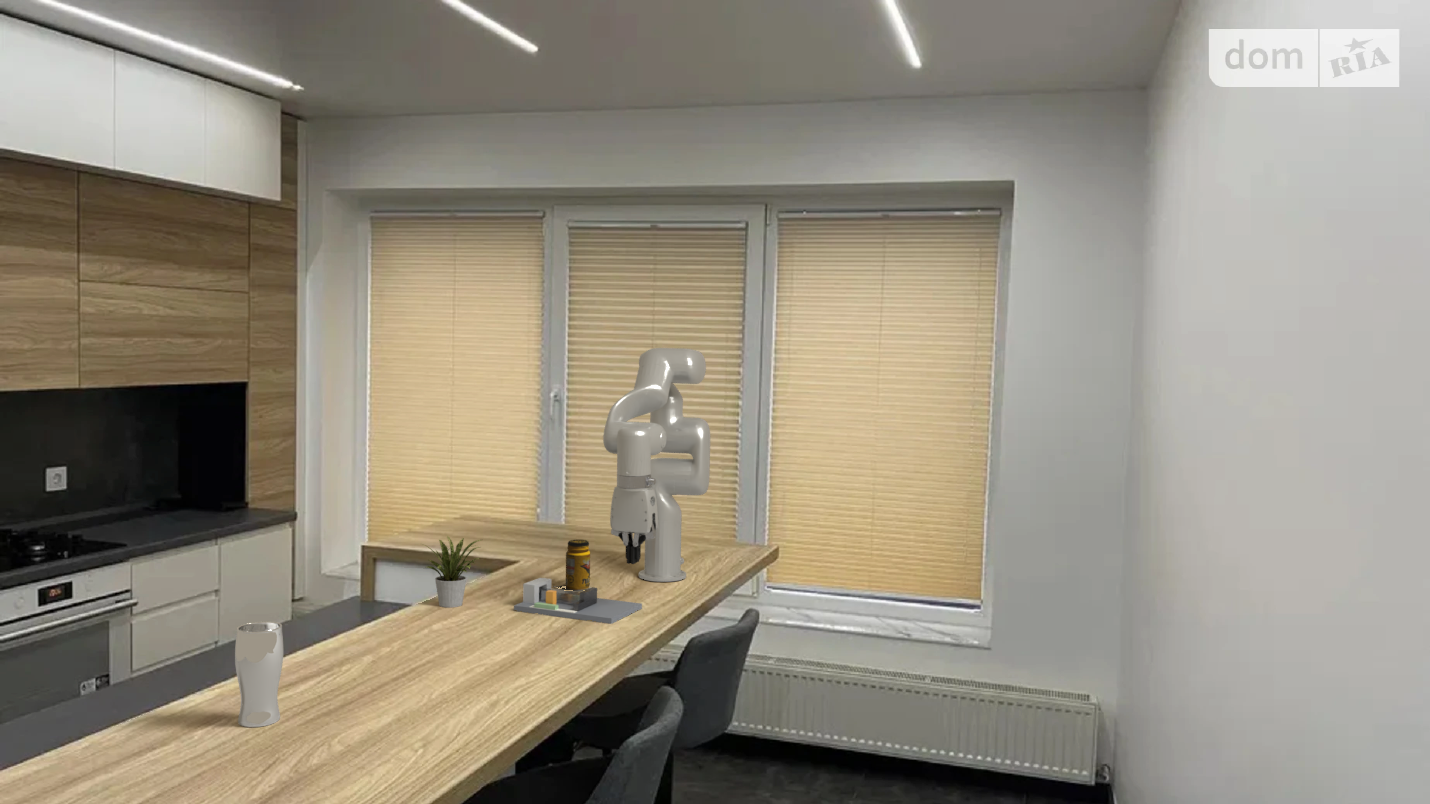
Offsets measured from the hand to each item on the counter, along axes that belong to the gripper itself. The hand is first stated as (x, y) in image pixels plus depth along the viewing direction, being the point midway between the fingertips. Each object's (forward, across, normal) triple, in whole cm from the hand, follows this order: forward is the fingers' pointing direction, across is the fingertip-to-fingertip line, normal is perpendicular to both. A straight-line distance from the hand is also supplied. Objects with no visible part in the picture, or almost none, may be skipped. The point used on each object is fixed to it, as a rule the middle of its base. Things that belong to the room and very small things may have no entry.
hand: (633, 562), depth 232 cm
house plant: (+12, +40, +11) cm, 43 cm away
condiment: (+13, +24, -16) cm, 32 cm away
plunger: (+11, +18, +3) cm, 21 cm away
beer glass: (+8, +23, +86) cm, 89 cm away
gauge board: (+12, +13, +2) cm, 18 cm away
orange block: (+11, +18, +6) cm, 21 cm away
